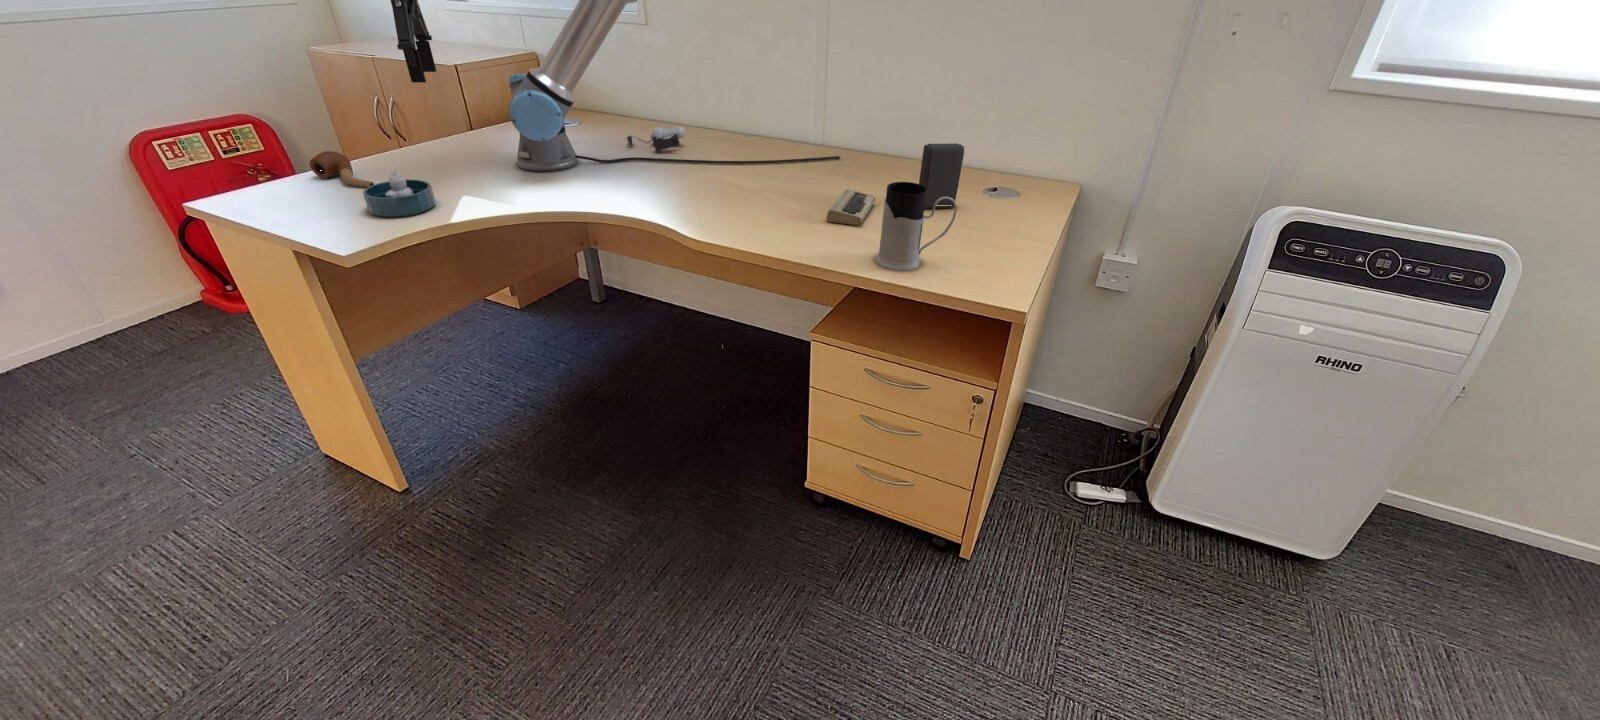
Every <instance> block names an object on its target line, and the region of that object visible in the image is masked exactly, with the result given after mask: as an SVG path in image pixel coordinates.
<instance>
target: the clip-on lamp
mask: <svg viewBox="0 0 1600 720" xmlns="http://www.w3.org/2000/svg"><path fill="white" fill-rule="evenodd" d="M685 136H686V131H685V129H684V127H682V126H676V127H671V128H663V127H658V126H657V127H655V128H653V129H652V132H651V134H650V140H648V141H647V140H644V139H642V138H640V137H638V136H635V135H633V134H628V135H627V136H626V142H627V144H628V146H629V148H630V147H631V148H632V147H633V138H634V139H637V140H638V141H641V142H643V143H646V144H649V143H651V142H652V143H653V146H654V149H655V153H656V154H660V153H661V152H662V150H665V149H669V148H674V147H679V146H680V144H683V142H682V140H680V139H684V138H685Z"/></svg>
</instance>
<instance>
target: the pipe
mask: <svg viewBox="0 0 1600 720" xmlns="http://www.w3.org/2000/svg"><path fill="white" fill-rule="evenodd" d="M309 168H310V169H311V171H312V172H313V174H315V175H316V176H318V177H319V178H321V179H329V178H333V177H337V176H340V177H341V180H342V181H343V182H344V184H345V183H346V184H347V185H352V186H357V187H364V188H368V187H370V186H372V185H375V184H374V182H373V181H371V180H366V179H365V180H364V179H359V178H355V177H353V175H354V171H353V168H352V163H351V161H350V159H349V158H348V157H347V156H345V155H344V154H342V153H340V152H337V151H333V150H327V151H326V150H325V151H322V152H320V153H317V154H316V155H315V156H313V157H312V158H311V159H310V161H309ZM320 170H322V171H320Z"/></svg>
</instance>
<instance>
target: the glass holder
mask: <svg viewBox="0 0 1600 720" xmlns="http://www.w3.org/2000/svg"><path fill="white" fill-rule="evenodd" d="M885 193H886V194H885V197H884V202H883V203H884V204H883V212H882V213H883V214H882V221H881V230H880V231H881V232H880V240H879V250H878V254H877V256H876V257H875V261H876V263H877V265H879V266H880V267H883V268H884V269H887V270H891V271H900V272H903V271H904V272H905V271H912V270H915V269H917V268H918V267H919V266H920V259H919V256H920V255H921V252H922V251H924V249H926V248H928V247H929V246H931V245H932V244H933V243H936V242H937V241H938V240H940V239H941V238H942V237H944V236H945V235H946V234H947V232H948V231H949V230H950V228H951V226H952V225H953V224H954V221H955V219H956V215H957V207H958V206H957V202H956V200H955V201H954V200H953V199H952V198H950V197H941V198H939V199H938V200H937V201H936V202H935V204H934V206H933V209H931V214H929V215H924V213H925V209H924V208H925V201H926V194H927V188H926V187H924V186H922V185H920V184H919V183H916V182H912V181H911V182H910V181H895V182H891V183H889V184H887V186H886V192H885ZM943 199H949V200H951V201H952V202H953V203H954V211H953V214H952V218H951V219H950V221H949V222H950V223H949V224H948V226H947V227H946V228H945V229H944V230H943V232H942V233H940V234H939V235H938V236H936V237H934V238H933V239H932V240H930V241H928V242H927V243H925V244H924V245H923V246H922V247H921V243H922V235H923V234H922V233H923V229H924V228H923V227H924V219H931V218H933V216H934V214H935V211H936V209H935V207H936V205H937V203H938V202H939V201H941V200H943Z"/></svg>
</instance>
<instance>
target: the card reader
mask: <svg viewBox="0 0 1600 720" xmlns="http://www.w3.org/2000/svg"><path fill="white" fill-rule="evenodd" d="M964 156H965V146H964V145H962V144H959V143H956V142H955V143H927V144H924V146H923V151H922V159H921V165H920V173H919V181H918V184H920V185H922V186H924V187H926V188H927V194H926V201H925V208H924V210H933V206H934V204H935V202H936V201H937V200H938V199H939V198H941V197H950V198H952V199H953V200H954V201H955V202H956V199H957V194H958V189H959V185H960V184H959V182H960V178H961V173H962V168H963V167H962V166H963V161H964ZM937 205H952V206H936V207H935V210H937V209H938V210H941V209H943V210H944V209H952V208H955V205H954V203H953V202H952V201H951V200H949V199H943V200H941V201H939V202H938V203H937Z"/></svg>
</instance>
